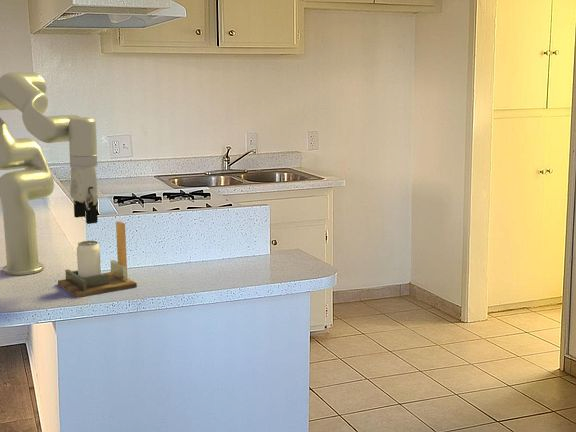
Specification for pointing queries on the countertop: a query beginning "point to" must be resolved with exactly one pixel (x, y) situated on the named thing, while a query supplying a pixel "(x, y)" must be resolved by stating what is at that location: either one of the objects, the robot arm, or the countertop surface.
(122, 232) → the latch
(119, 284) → the rail board
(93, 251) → the can
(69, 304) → the countertop surface
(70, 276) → the can holder
